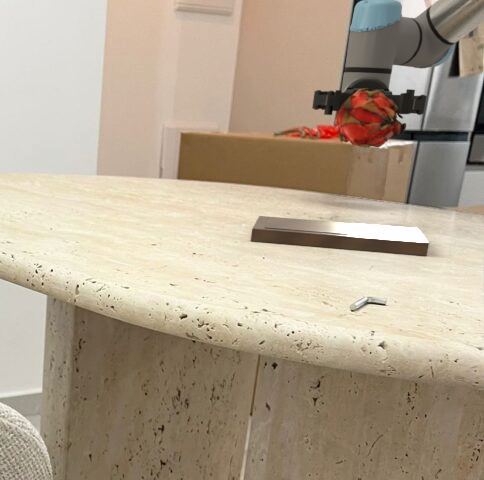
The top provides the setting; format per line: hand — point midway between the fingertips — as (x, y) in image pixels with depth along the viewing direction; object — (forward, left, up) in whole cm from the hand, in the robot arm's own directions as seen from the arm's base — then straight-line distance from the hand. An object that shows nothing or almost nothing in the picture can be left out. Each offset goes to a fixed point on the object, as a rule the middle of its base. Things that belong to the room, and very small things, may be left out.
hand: (370, 102), depth 130 cm
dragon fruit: (0, -5, -6) cm, 8 cm away
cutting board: (+2, +21, -16) cm, 26 cm away
